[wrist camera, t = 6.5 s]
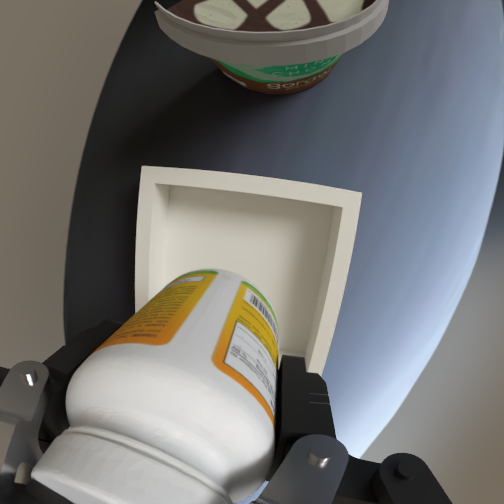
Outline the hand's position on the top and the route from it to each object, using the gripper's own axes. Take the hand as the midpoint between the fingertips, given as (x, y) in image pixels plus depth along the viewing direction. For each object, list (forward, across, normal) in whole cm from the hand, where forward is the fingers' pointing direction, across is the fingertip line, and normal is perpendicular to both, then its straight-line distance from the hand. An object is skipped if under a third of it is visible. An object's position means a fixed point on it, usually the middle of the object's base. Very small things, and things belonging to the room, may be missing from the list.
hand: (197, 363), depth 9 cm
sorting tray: (+12, 0, 0) cm, 12 cm away
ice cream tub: (+12, -2, -15) cm, 19 cm away
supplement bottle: (+3, 0, 0) cm, 3 cm away
